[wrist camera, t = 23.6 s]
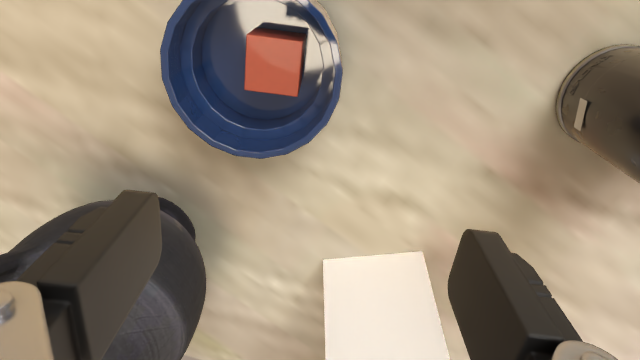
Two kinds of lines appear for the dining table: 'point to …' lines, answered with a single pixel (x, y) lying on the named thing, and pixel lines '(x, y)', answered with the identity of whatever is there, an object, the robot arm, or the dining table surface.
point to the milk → (381, 309)
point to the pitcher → (156, 298)
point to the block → (274, 61)
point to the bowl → (229, 74)
